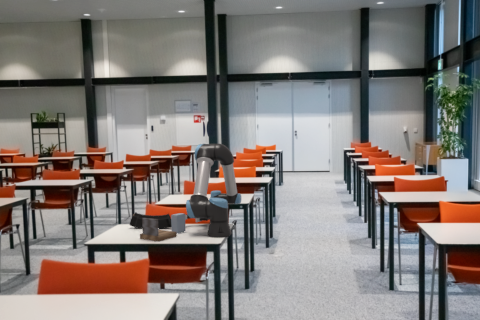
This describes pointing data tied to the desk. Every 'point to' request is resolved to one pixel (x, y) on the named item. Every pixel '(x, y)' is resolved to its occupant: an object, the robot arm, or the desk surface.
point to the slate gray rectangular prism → (178, 222)
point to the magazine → (163, 220)
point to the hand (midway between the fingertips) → (188, 219)
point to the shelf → (154, 231)
